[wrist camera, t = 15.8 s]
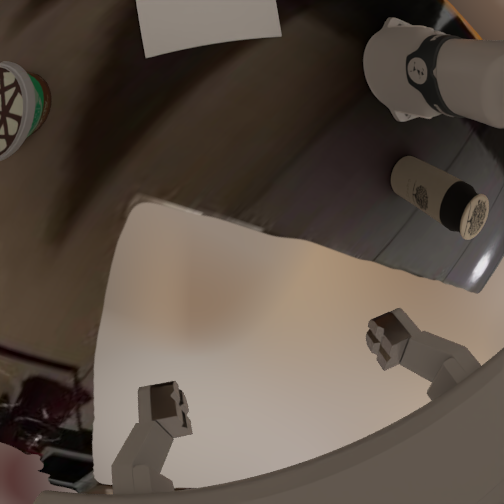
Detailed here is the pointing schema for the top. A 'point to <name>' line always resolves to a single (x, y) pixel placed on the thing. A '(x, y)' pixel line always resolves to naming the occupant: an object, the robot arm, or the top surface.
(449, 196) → the travel mug
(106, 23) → the top surface
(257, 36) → the white paper sheet
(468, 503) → the robot arm
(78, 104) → the top surface
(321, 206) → the top surface
